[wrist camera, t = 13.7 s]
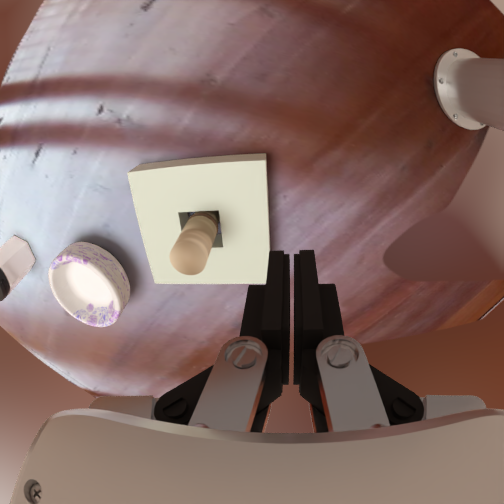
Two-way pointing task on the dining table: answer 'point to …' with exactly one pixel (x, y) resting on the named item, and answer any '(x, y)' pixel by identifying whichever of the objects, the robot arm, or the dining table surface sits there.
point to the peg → (195, 242)
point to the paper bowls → (89, 284)
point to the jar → (14, 264)
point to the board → (206, 199)
